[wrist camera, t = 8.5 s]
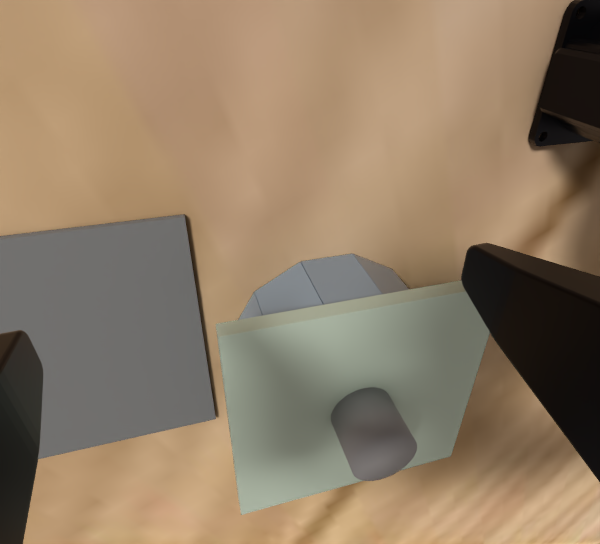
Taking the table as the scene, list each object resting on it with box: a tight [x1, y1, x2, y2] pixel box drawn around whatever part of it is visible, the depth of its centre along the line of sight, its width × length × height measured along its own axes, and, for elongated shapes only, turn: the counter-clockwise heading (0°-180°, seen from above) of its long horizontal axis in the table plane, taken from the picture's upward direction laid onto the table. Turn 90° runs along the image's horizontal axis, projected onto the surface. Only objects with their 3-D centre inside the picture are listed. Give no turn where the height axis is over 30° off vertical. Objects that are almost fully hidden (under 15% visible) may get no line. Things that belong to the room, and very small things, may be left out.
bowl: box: [238, 254, 409, 320], centre depth 25 cm, size 11×11×5 cm
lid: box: [216, 280, 490, 515], centre depth 22 cm, size 13×13×4 cm
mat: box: [0, 215, 216, 459], centre depth 23 cm, size 14×14×1 cm
